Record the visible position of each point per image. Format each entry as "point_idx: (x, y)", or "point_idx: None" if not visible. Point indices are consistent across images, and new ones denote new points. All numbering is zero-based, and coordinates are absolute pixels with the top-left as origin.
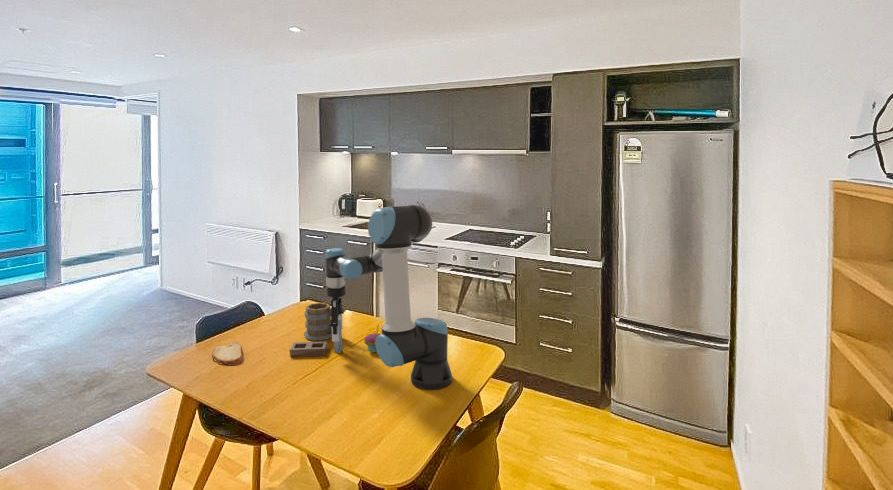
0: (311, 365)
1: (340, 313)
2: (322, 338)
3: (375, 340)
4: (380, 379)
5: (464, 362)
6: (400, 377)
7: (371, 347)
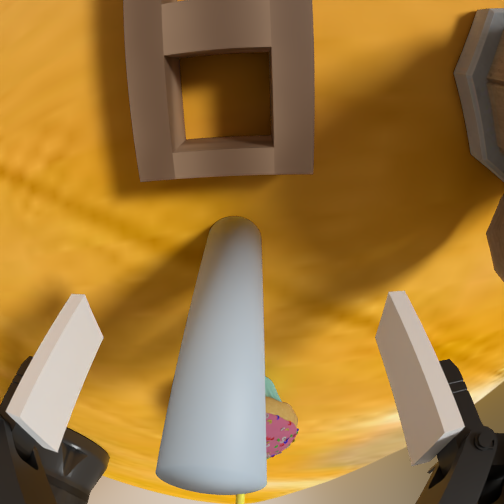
0: (21, 125)
1: (441, 463)
2: (468, 114)
3: None
4: None
5: None
6: None
7: None
